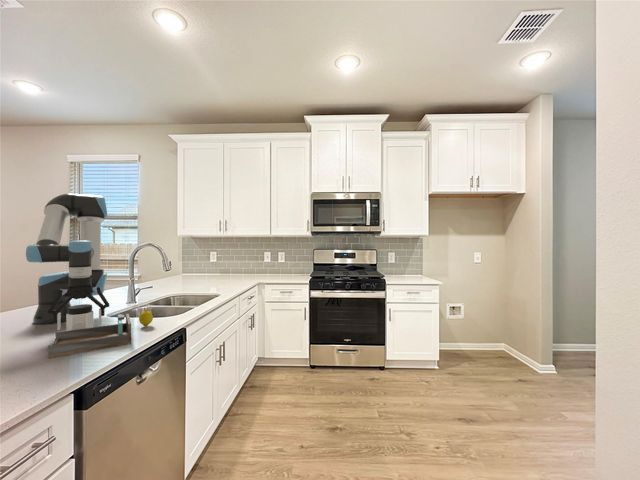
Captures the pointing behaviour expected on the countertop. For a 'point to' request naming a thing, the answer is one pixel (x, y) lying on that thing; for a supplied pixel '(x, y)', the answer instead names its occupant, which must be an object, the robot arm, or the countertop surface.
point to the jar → (79, 317)
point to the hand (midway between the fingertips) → (80, 326)
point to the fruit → (146, 318)
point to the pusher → (120, 323)
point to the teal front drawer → (90, 339)
